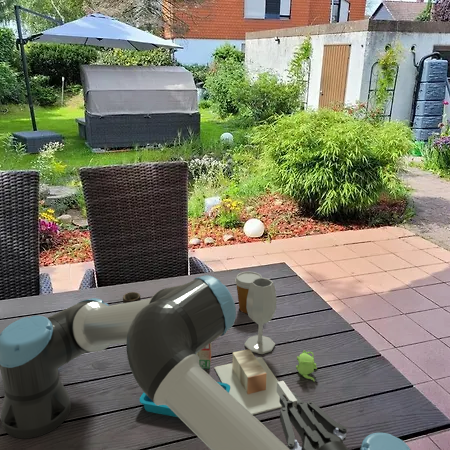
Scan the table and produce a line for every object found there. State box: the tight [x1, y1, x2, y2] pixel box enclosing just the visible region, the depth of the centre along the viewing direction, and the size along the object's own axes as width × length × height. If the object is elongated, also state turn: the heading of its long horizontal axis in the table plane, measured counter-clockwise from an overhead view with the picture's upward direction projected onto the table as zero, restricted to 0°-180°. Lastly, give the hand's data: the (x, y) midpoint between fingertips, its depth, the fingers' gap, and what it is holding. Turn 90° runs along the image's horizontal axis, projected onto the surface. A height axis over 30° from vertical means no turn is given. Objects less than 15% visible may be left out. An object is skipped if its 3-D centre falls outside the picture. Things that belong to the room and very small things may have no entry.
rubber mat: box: [213, 356, 283, 416], centre depth 116 cm, size 14×20×1 cm
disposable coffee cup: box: [234, 271, 263, 314], centre depth 151 cm, size 10×10×12 cm
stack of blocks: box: [197, 342, 212, 370], centre depth 130 cm, size 21×6×12 cm, turn 0°
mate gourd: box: [122, 291, 142, 304], centre depth 145 cm, size 7×8×10 cm
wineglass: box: [244, 276, 278, 355], centre depth 129 cm, size 9×9×21 cm
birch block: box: [231, 348, 267, 394], centre depth 117 cm, size 5×5×11 cm
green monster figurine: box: [295, 350, 318, 383], centre depth 120 cm, size 6×5×6 cm
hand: (279, 386), depth 99 cm, fingers closed
